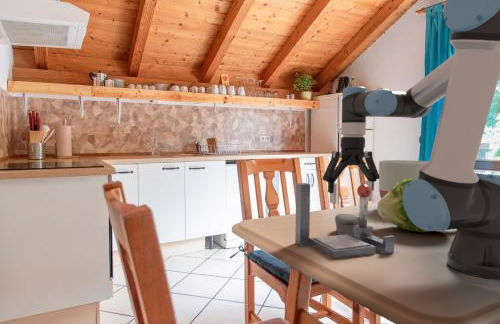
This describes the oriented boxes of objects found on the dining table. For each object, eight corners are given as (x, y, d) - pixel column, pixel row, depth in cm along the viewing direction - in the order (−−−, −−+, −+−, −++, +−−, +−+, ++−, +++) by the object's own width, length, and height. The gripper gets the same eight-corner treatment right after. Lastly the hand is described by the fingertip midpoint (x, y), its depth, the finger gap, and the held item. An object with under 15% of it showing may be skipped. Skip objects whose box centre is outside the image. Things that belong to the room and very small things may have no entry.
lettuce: (374, 223, 134) (370, 177, 131) (441, 217, 130) (438, 169, 126) (386, 246, 115) (381, 192, 112) (464, 240, 111) (462, 184, 108)
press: (394, 252, 98) (396, 187, 97) (326, 261, 91) (327, 191, 89) (355, 236, 114) (356, 180, 113) (295, 243, 107) (296, 183, 105)
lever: (372, 233, 107) (374, 185, 106) (361, 234, 106) (362, 185, 105) (364, 230, 111) (365, 183, 110) (353, 231, 109) (354, 183, 108)
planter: (416, 218, 141) (418, 163, 139) (369, 210, 156) (370, 161, 154) (436, 211, 155) (438, 161, 153) (391, 204, 170) (392, 159, 168)
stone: (330, 236, 113) (333, 206, 117) (334, 243, 121) (337, 214, 125) (360, 240, 110) (362, 209, 114) (362, 246, 118) (364, 217, 121)
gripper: (376, 136, 122) (374, 197, 124) (312, 135, 113) (311, 201, 115) (392, 136, 115) (389, 201, 117) (325, 136, 106) (323, 206, 108)
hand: (350, 201), depth 116 cm, fingers open, 13 cm apart
